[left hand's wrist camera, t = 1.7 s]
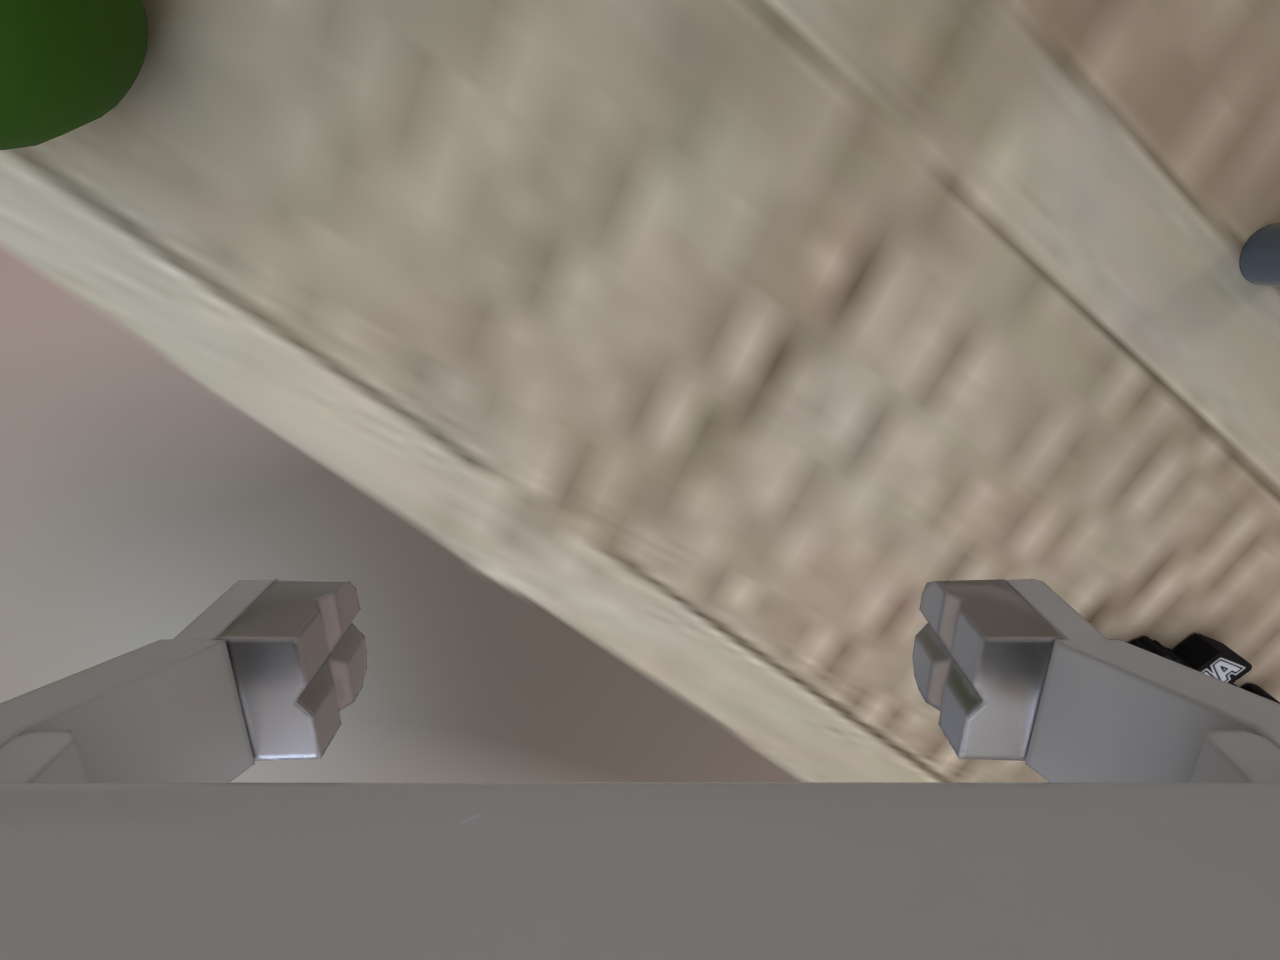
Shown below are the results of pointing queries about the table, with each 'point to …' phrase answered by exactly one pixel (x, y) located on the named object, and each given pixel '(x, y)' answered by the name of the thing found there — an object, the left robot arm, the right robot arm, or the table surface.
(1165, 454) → the table surface
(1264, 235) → the dark grey cylinder
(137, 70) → the vase
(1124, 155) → the table surface
